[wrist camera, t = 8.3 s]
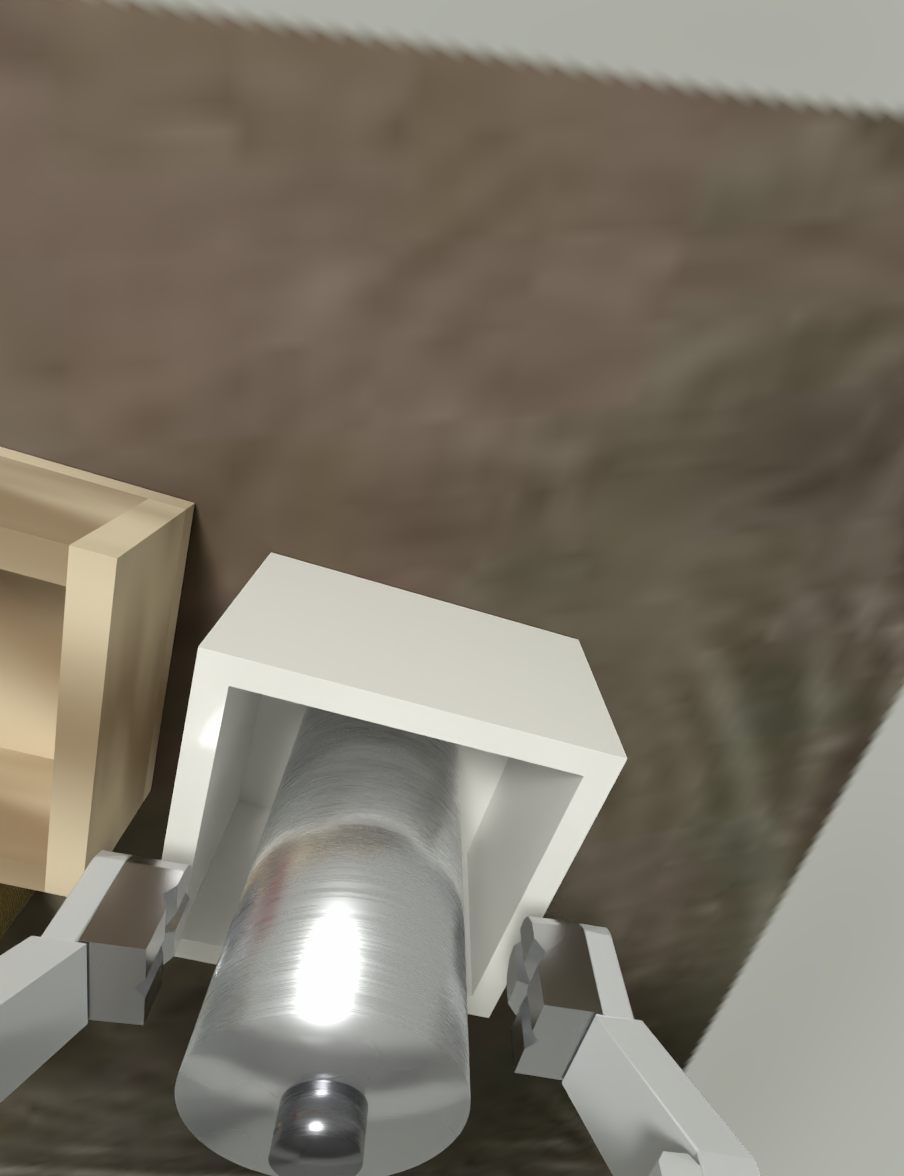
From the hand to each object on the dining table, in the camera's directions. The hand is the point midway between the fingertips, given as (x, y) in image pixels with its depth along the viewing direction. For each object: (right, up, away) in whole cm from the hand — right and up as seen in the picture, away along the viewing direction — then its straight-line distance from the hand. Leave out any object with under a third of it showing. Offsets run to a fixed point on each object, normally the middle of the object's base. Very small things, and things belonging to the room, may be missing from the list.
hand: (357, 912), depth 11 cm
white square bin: (0, +2, +5) cm, 6 cm away
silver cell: (0, +2, +5) cm, 5 cm away
